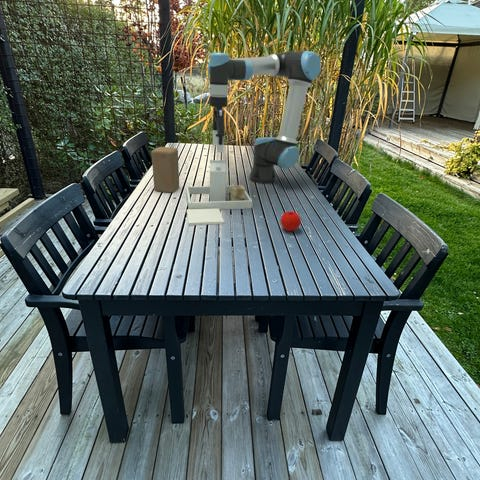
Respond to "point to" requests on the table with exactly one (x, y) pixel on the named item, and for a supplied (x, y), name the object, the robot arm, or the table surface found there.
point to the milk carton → (217, 180)
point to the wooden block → (165, 169)
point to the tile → (204, 216)
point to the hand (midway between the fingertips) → (217, 148)
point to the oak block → (237, 193)
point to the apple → (290, 221)
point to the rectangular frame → (216, 204)
